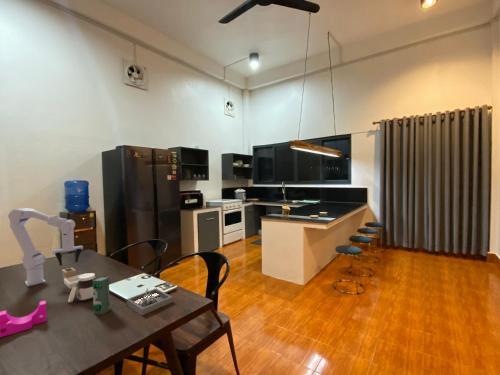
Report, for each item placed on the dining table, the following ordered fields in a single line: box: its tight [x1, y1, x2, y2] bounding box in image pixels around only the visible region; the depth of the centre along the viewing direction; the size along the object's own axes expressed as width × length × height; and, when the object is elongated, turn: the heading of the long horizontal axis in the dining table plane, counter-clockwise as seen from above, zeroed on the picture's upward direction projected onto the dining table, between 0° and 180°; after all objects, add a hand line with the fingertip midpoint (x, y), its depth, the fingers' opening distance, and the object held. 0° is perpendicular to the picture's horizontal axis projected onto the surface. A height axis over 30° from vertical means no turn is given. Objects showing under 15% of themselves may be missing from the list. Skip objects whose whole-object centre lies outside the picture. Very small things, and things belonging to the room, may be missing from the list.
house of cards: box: [139, 287, 157, 306], centre depth 118 cm, size 9×9×8 cm
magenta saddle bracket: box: [0, 300, 48, 338], centre depth 102 cm, size 15×6×8 cm, turn 130°
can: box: [92, 275, 111, 316], centre depth 114 cm, size 6×6×15 cm
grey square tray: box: [126, 287, 173, 317], centre depth 120 cm, size 15×15×3 cm
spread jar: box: [67, 272, 96, 303], centre depth 125 cm, size 12×11×12 cm
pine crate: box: [61, 267, 77, 281], centre depth 150 cm, size 7×5×6 cm
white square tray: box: [63, 272, 88, 290], centre depth 145 cm, size 11×11×3 cm
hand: (68, 263), depth 148 cm, fingers open, 7 cm apart
